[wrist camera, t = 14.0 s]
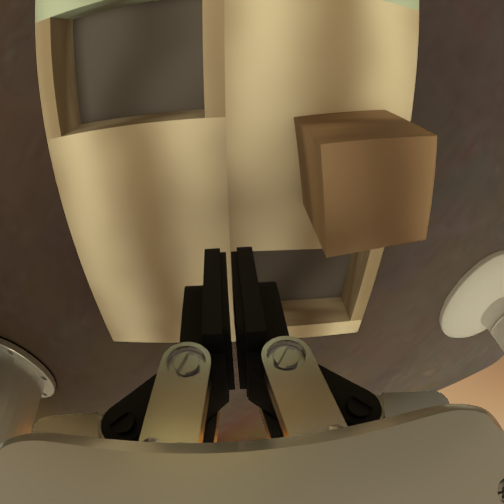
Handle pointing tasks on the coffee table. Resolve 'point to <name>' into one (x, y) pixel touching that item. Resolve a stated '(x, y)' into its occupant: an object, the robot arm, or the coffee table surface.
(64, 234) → the coffee table surface
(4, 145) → the coffee table surface
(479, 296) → the candlestick
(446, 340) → the coffee table surface
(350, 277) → the board
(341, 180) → the walnut block
